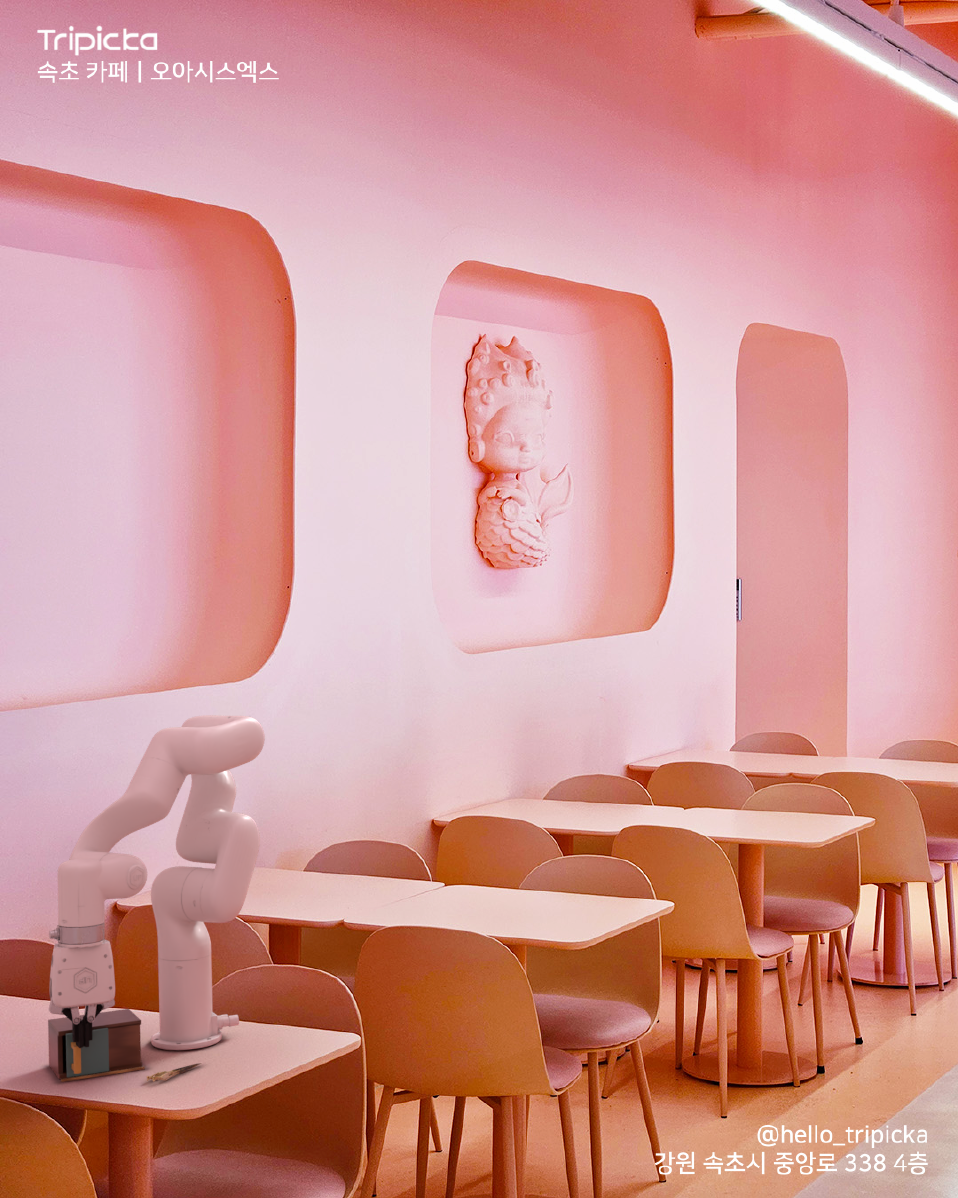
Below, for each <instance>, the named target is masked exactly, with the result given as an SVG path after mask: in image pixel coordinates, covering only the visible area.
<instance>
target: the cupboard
mask: <svg viewBox="0 0 958 1198" xmlns="http://www.w3.org/2000/svg"><path fill="white" fill-rule="evenodd" d="M83 1016H84V1014H80V1019H81V1020H82V1019H83ZM141 1025H142V1020H141V1018H139V1016H137V1015H136V1014H135V1013H134V1012H133V1011H132V1010H130V1009H129V1008H124V1009H116V1010H110V1011H109V1010H108V1011H104V1012H102V1011H101V1012H100V1013H99V1014H98V1015H97V1016H96V1018H95V1020H94V1021H93V1022H92V1030H96V1029H103V1028H108V1040H109V1071H107V1072H100V1073H93V1074H87V1075H80V1076H74V1077H67V1069H66V1034H67V1033H72V1021H71V1020H70V1019H68V1018H67V1017H66V1016H65V1017H59V1018H58V1017H57V1018H51V1019H48V1020H47V1029H48V1030H47V1032H48V1033H47V1035H48V1038H47V1039H48V1067H49V1068H50V1069H51V1071H52V1072H53V1073H54V1074H55V1075H56V1077H57V1078H58V1079H59V1080H60V1082H61V1083H64V1082H65V1083H66V1082H71V1081H77V1080H84V1079H90V1078H97V1077H102V1076H109V1075H116V1074H122V1073H129V1072H136V1071H141V1070H145V1068H146V1067H145V1066H143V1062H142V1049H141V1048H142V1047H141V1046H142V1045H141Z"/></svg>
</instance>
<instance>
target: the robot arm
mask: <svg viewBox="0 0 958 1198" xmlns="http://www.w3.org/2000/svg"><path fill="white" fill-rule="evenodd" d="M265 735H266V734H265V731H264V727H263V726H262V724H261V723H260V722H259V720H257V719H256V718H254V717H253V716H247V715H221V714H218V715H217V714H204V715H197V716H192V717H189V718H188V719H186V720H185V721H183V723H182V725H181V726H174V727H173V726H172V727H171V726H170V727H165V728H163V729H161V730H158V731H157V732H156V733H155V734H154V735H153V736H152V738H151V739H150V742H149V743H148V745H147V748H146V750H145V752H144V754H143V756H142V757H141V760H140V762H139V764H138V766H137V767H136V770H135V772H134V774H133V775H132V778H131V780H130V782H129V783H128V786H127V789H126V790H125V792H124V793H123V795H122V796H120V797H119V798H117V800H115V801H114V802H112V803H111V804H109V806H107V807H106V808H105V809H104V810H103V811H101V812H100V813H99V814H98V815H96V816H95V817H94V818H93V819H92V820H91V821H90V822H89V823H88V824H87V825H86V827H85V828H84V829H83V831H82V832H81V833H80V835H79V837H78V839H77V842H76V843H75V845H74V846H73V849H72V851H71V853H70V856H69V858H68V860H66V861H63V862H61V863H60V864H59V866H58V868H57V924H56V928H55V929H53V930H49V931H48V937H49V939H50V940H53V939H54V940H56V941H57V943H55V944H54V945H53V949H52V950H53V951H52V955H51V961H50V962H51V963H50V972H49V999H50V1001H49V1005H48V1012H49V1013H50V1014H53V1015H60V1016H65V1017H67V1018H68V1019H70V1020H71V1021H72V1039H73V1042H76V1045H77V1046H78V1047H79V1048H83V1047H89V1041H90V1040H92V1022H93V1021H94V1020H95V1018H96V1016H97V1015H98V1014H99V1013H101V1012H102V1011H104V1010H107V1009H110V1008H113V1007H114V1006H116V1000H115V996H116V979H115V978H116V977H115V967H114V965H115V964H114V957H113V951H112V945H111V941H110V940H107V939H105V938H106V936H105V934H106V933H105V932H106V930H105V928H106V927H105V921H106V920H105V901H106V900H117V899H118V900H119V899H120V900H123V899H124V900H125V899H128V898H132V897H134V896H136V895H138V894H139V893H140V892H142V890H143V889H144V887H145V885H146V884H147V881H148V869H147V866H146V864H145V863H144V861H143V860H142V859H141V858H139V857H137V856H135V855H133V854H129V853H121V852H119V853H118V852H111V850H112V849H113V848H114V847H115V845H117V844H118V843H119V842H120V841H121V840H122V839H124V838H125V837H128V836H129V835H130V834H133V833H135V832H138V831H139V830H142V829H145V828H147V827H150V826H152V825H154V824H156V823H158V822H160V821H163V820H164V819H165V818H166V817H168V815H169V814H170V812H171V810H172V808H173V806H174V803H175V801H176V799H177V797H178V794H179V793H180V790H181V789H182V786H183V784H184V782H185V780H186V778H187V776H189V775H190V777H191V786H190V790H189V794H188V796H187V797H188V798H187V801H186V804H185V807H184V810H183V815H182V817H181V820H180V824H179V827H178V831H177V834H176V838H175V850H176V853H177V854H178V855H179V857H180V858H181V859H183V860H185V861H188V862H192V863H200V864H212V865H215V866H214V868H211V867H210V868H208V867H202V866H201V867H200V866H199V867H198V866H183V865H181V866H180V865H179V866H171V867H168V868H166V869H164V870H161V871H160V872H159V873H158V874H157V875H156V876H155V878H154V879H153V882H152V884H151V887H150V901H151V907H152V912H153V916H154V920H155V926H156V933H157V935H156V936H157V968H158V969H157V970H158V971H157V972H158V1005H159V1006H158V1009H159V1010H158V1011H159V1012H158V1015H159V1016H158V1017H159V1031H158V1032H155V1033H154V1034H153V1035H152V1036H151V1038H150V1041H151V1045H152V1046H153V1047H155V1048H156V1049H161V1050H167V1051H188V1050H197V1049H202V1048H207V1047H210V1046H213V1045H216V1044H217V1043H219V1042H220V1041H221V1040H222V1038H223V1032H222V1030H223V1028H226V1027H230V1028H231V1027H235V1026H239V1025H240V1019H239V1018H240V1017H239V1015H238V1014H233V1015H228V1014H227V1013H226V1014H219V1015H217V1014H216V1013H215V1012H214V1011H213V1009H214V1008H213V970H212V968H213V967H212V965H213V964H212V963H213V962H212V942H211V937H210V933H209V931H208V929H207V926H206V924H205V923H213V924H226V923H229V922H232V921H233V920H235V918H237V917H238V916H239V914H240V913H241V912H242V911H241V910H242V908H243V906H244V903H245V901H246V898H247V894H248V891H249V887H250V884H251V880H252V877H253V874H254V870H255V866H256V863H257V859H258V856H259V851H260V845H261V837H260V829H259V827H258V824H257V822H256V821H255V820H254V818H253V817H251V816H250V815H248V814H246V813H243V812H242V813H241V812H236V811H235V812H234V811H233V810H234V804H235V801H236V796H237V785H236V781H235V779H234V775H233V773H232V772H231V770H232V769H234V768H237V767H240V766H242V765H245V764H248V763H250V762H252V761H254V760H255V759H256V758H258V756H259V755H260V754H261V752H262V751H263V748H264V746H265V739H266V738H265V737H266V736H265ZM79 1007H84V1013H83V1015H84V1016H83V1019H82V1020H81V1019H80V1015H81V1014H80V1008H79Z"/></svg>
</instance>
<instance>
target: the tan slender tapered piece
mask: <svg viewBox="0 0 958 1198" xmlns="http://www.w3.org/2000/svg"><path fill="white" fill-rule="evenodd" d="M199 1065H202V1063H201V1062H199V1063H194V1064H189V1065H185V1066H182V1067H178V1068H175V1069H172V1070H167V1071H157V1072H156V1073H154V1074H152V1075H146V1082H149V1081H150V1080H152V1082H155V1081H167V1080H169V1079H170V1078H172V1077H174V1076H176V1075H179V1074H183V1073H185V1072H187V1071H189V1070H192V1069H194V1068H196V1067H197V1066H199Z"/></svg>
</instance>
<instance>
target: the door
mask: <svg viewBox="0 0 958 1198" xmlns="http://www.w3.org/2000/svg"><path fill="white" fill-rule="evenodd" d="M66 1069H67V1077H74V1076H78V1077H79V1076H80V1075H87V1074H91V1075H92V1074H93V1073H100V1072H104V1073H105V1072H107V1071H109V1040H108V1028H103V1029H96V1030H92V1040H90V1041H89V1047H83V1048H79V1047H78V1046H77V1045H76V1042H73V1039H72V1033H67V1034H66Z"/></svg>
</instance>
